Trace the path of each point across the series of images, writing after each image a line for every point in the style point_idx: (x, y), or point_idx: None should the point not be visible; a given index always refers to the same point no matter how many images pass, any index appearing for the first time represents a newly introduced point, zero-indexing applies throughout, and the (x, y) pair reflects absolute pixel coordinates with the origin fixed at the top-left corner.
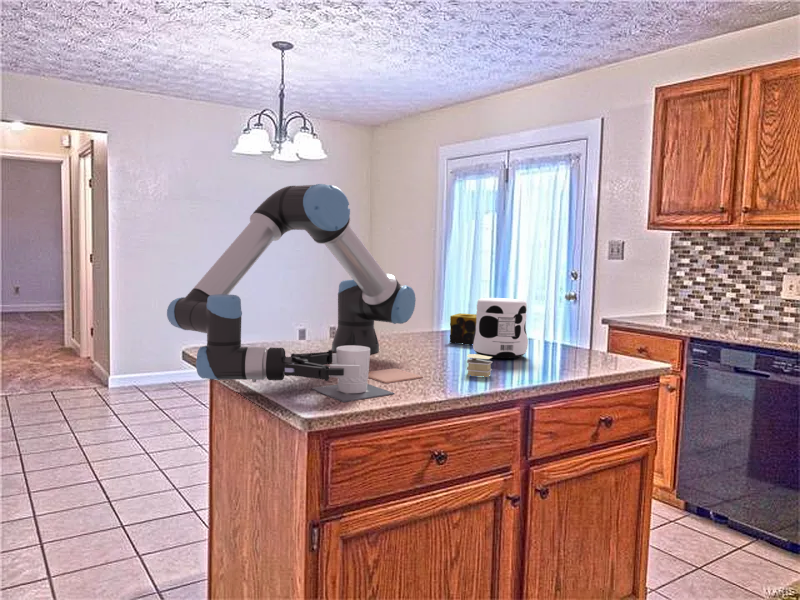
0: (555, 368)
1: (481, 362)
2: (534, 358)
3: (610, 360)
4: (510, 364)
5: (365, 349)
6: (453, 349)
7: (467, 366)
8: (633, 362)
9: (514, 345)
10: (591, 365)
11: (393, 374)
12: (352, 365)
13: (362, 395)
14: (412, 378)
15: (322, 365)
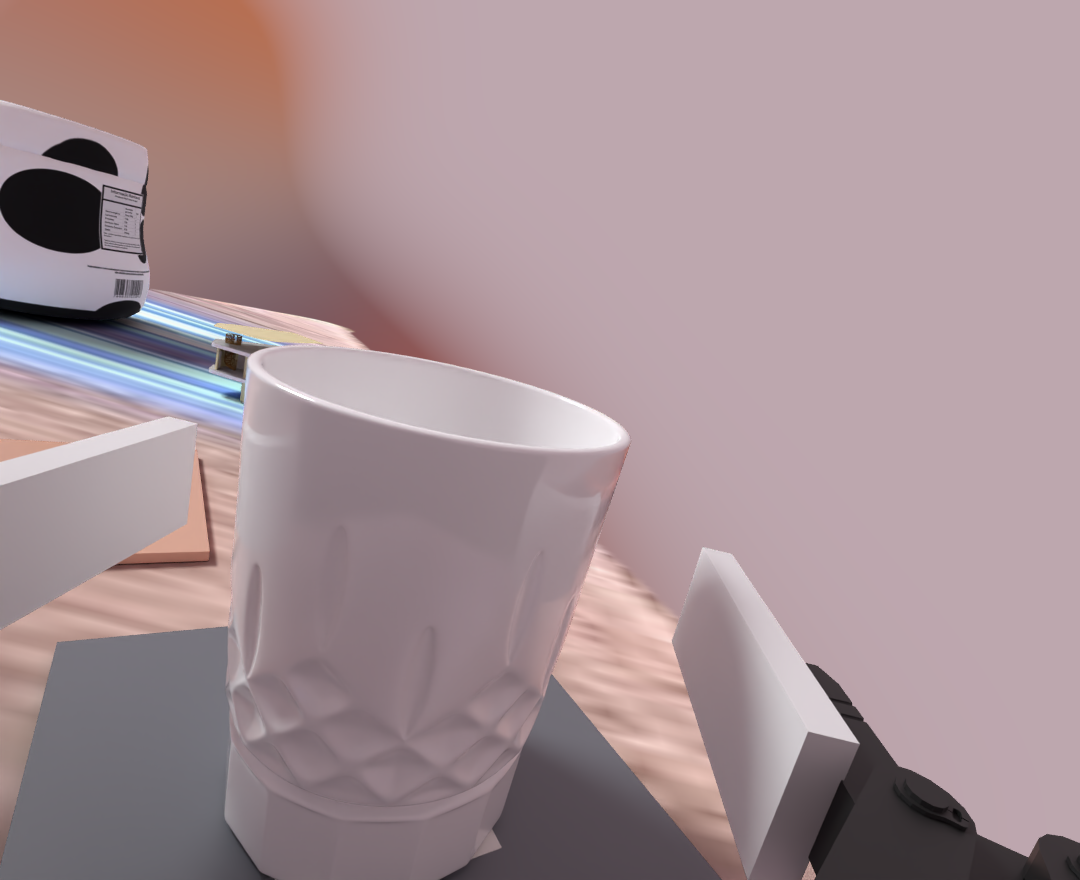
0: (275, 345)
1: None
2: (142, 315)
3: (256, 315)
4: (171, 341)
5: (384, 378)
6: None
7: (212, 369)
8: (290, 318)
9: (144, 282)
10: (281, 330)
11: None
12: (744, 580)
13: (552, 748)
14: (199, 474)
15: (901, 850)
